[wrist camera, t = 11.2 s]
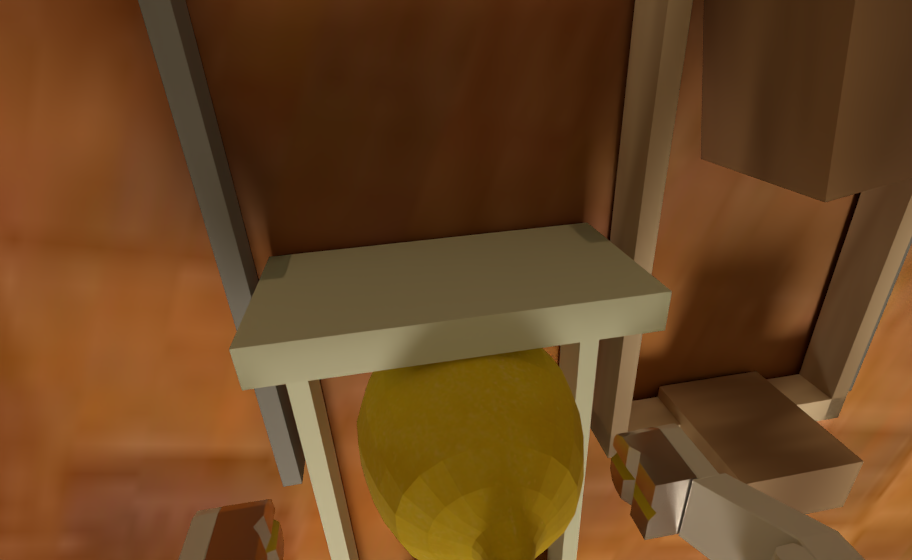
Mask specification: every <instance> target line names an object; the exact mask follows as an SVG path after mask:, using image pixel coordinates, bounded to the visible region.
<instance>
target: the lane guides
mask: <svg viewBox="0 0 912 560" xmlns="http://www.w3.org/2000/svg"><path fill="white" fill-rule="evenodd" d="M138 2H139V5H140V9H141V12H142V15H143V19H144V22H145V25H146V29H147V32H148V35H149V39H150V42H151V45H152V49H153V52H154V55H155V59H156V62H157V65H158V69H159V72H160V75H161V79H162V82H163V86H164V89H165V92H166V96H167V99H168V102H169V106H170V109H171V112H172V116H173V119H174V122H175V126H176V129H177V132H178V136H179V139H180V142H181V146H182V149H183V152H184V156H185V159H186V162H187V166H188V169H189V172H190V176H191V179H192V182H193V186H194V189H195V193H196V196H197V199H198V203H199V206H200V209H201V213H202V216H203V219H204V223H205V226H206V229H207V233H208V236H209V239H210V243H211V246H212V249H213V253H214V256H215V259H216V263H217V266H218V269H219V273H220V276H221V279H222V283H223V286H224V289H225V293H226V296H227V300H228V303H229V306H230V310H231V313H232V316H233V320H234V323H235V326H236V330H238V328H239V326H240V323H241V321H242V319H243V316H244V314H245V312H246V309H247V307H248V305H249V303H250V300H251V298H252V296H253V293H254V291H255V289H256V287H257V284H258V282H259V281H258V277H257V273H256V269H255V265H254V262H253V258H252V254H251V250H250V246H249V242H248V239H247V235H246V231H245V227H244V223H243V219H242V216H241V212H240V208H239V204H238V200H237V196H236V193H235V189H234V185H233V181H232V177H231V173H230V170H229V166H228V162H227V158H226V154H225V150H224V146H223V143H222V139H221V135H220V131H219V127H218V123H217V120H216V116H215V112H214V108H213V104H212V100H211V97H210V93H209V89H208V85H207V81H206V77H205V74H204V70H203V66H202V62H201V58H200V54H199V51H198V47H197V43H196V39H195V35H194V31H193V28H192V24H191V20H190V16H189V12H188V8H187V4H186V1H185V0H138ZM911 244H912V237H911V239H910V241H909V244H908V246H907V249H906V251H905V254H904V256H903V259H902V261H901V264H900V266H899V268H898V271H897V273H896V276H895V278H894V281H893V283H892V286H891V288H890V291H889V293H888V295H887V298H886V300H885V303H884V305H883V308H882V310H881V313H880V315H879V317H878V320H877V322H876V325H875V327H874V330H873V332H872V335H871V337H870V340H869V342H868V344H867V347H866V349H865V352H864V354H863V357H862V359H861V362H860V364H859V367H858V369H857V371H856V374H855V376H854V379H853V381H852V384H851V386H850V389H849V391H851V390H852V387H853V385H854V382H855V380H856V377H857V375H858V373H859V370H860V368H861V365H862V363H863V360H864V358H865V356H866V353H867V351H868V348H869V346H870V343H871V341H872V338H873V336H874V334H875V331H876V329H877V326H878V324H879V321H880V319H881V317H882V314H883V312H884V309H885V307H886V304H887V302H888V300H889V297H890V295H891V292H892V290H893V287H894V285H895V282H896V280H897V278H898V275H899V273H900V270H901V268H902V265H903V263H904V261H905V258H906V256H907V253H908V251H909V248H910V246H911ZM254 390H255V393H256V396H257V400H258V403H259V407H260V410H261V413H262V417H263V420H264V423H265V427H266V430H267V433H268V437H269V440H270V443H271V447H272V450H273V453H274V457H275V460H276V463H277V467H278V470H279V473H280V477H281V480H282V483H283V487H284V486H290V485H296V484H302V480H303V473H304V466H305V457H304V454H303V450H302V446H301V442H300V438H299V434H298V431H297V427H296V423H295V419H294V415H293V411H292V407H291V404H290V400H289V396H288V392H287V388H286V384H283V385H276V386H269V387H262V388H255V389H254Z"/></svg>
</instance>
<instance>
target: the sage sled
mask: <svg viewBox="0 0 912 560" xmlns="http://www.w3.org/2000/svg"><path fill="white" fill-rule="evenodd" d="M671 293H672V291H671V290H669V289H668V288H667V287H666V286H664V285H663V284H662V283H661V282H660V281H658V280H657V279H656V278H655V277H653V276H652V275H651V274H650V273H648V272H647V271H646V270H645V269H644V268H642V267H641V266H640V265H639V264H637V263H636V262H635V261H634V260H632V259H631V258H630V257H629V256H628V255H626V254H625V253H624V252H623V251H621V250H620V249H619V248H618V247H616V246H615V245H614V244H613V243H612V242H610V241H609V240H608V239H607V238H605V237H604V236H603V235H602V234H600V233H599V232H598V231H597V230H596V229H594V228H593V227H592V226H591V225H589V224H588V223H578V224H569V225H560V226H550V227H541V228H532V229H523V230H513V231H504V232H495V233H485V234H476V235H467V236H458V237H448V238H439V239H430V240H421V241H411V242H402V243H393V244H383V245H374V246H365V247H356V248H346V249H337V250H328V251H319V252H309V253H300V254H291V255H281V256H272V257H269V259H268V261H267V264H266V266H265V268H264V270H263V273H262V275H261V277H260V280H259V282H258V284H257V287H256V289H255V291H254V293H253V296H252V298H251V300H250V303H249V305H248V307H247V309H246V312H245V314H244V316H243V319H242V321H241V323H240V326H239V328H238V330H237V332H236V335H235V337H234V339H233V342H232V344H231V346H230V349H229V350H230V354H231V357H232V360H233V363H234V366H235V370H236V373H237V376H238V379H239V382H240V385H241V389H242V390H247V389H255V388H262V387H269V386H276V385H283V384H286V387H287V390H288V394H289V398H290V402H291V406H292V410H293V413H294V417H295V421H296V425H297V429H298V433H299V437H300V440H301V444H302V448H303V452H304V456H305V460H306V463H307V467H308V471H309V475H310V479H311V483H312V487H313V490H314V494H315V498H316V502H317V506H318V510H319V513H320V517H321V521H322V525H323V529H324V533H325V537H326V540H327V544H328V548H329V552H330V556H331V560H359V558H358V554H357V549H356V544H355V540H354V535H353V531H352V526H351V522H350V517H349V512H348V508H347V503H346V499H345V494H344V490H343V485H342V481H341V476H340V471H339V467H338V462H337V458H336V453H335V449H334V444H333V440H332V435H331V430H330V426H329V421H328V417H327V412H326V408H325V403H324V398H323V394H322V389H321V385H320V380H319V379H325V378H332V377H339V376H346V375H353V374H360V373H367V372H374V371H381V370H388V369H396V368H403V367H410V366H417V365H424V364H431V363H438V362H445V361H452V360H459V359H466V358H473V357H480V356H487V355H494V354H501V353H508V352H515V351H522V350H530V349H537V348H544V347H551V346H558V345H560V361H559V367H560V368H561V370H562V371H563V374H564V376H565V378H566V380H567V383H568V385H569V387H570V389H571V391H572V394H573V397H574V399H575V402H576V405H577V408H578V410H579V413H580V418H581V424H582V430H583V436H584V478H583V483H582V488H581V493H580V497H579V501H578V505H577V509H576V512H575V515H574V517H573V519H572V520H571V522H570V524H569V525H568V527H567V529H566V530H565V532H564V533H563V534H562V535H561V536H560V537H559V538H558V539H557V540H556V541H555V542H553V543H552V544H551V545H550V546H549V547H548V556H547V560H576V557H577V547H578V538H579V528H580V519H581V509H582V500H583V490H584V480H585V471H586V461H587V452H588V442H589V433H590V423H591V414H592V404H593V394H594V385H595V375H596V366H597V356H598V347H599V340H600V339H607V338H614V337H621V336H628V335H635V334H642V333H649V332H656V331H663V330H665V327H666V322H667V316H668V310H669V305H670V299H671Z"/></svg>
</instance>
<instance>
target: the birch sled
mask: <svg viewBox="0 0 912 560" xmlns="http://www.w3.org/2000/svg"><path fill="white" fill-rule="evenodd" d="M692 4H693V0H635V7H634V16H633V26H632V35H631V45H630V54H629V64H628V74H627V83H626V93H625V102H624V112H623V121H622V131H621V140H620V150H619V159H618V169H617V178H616V188H615V197H614V207H613V216H612V226H611V235H610V242H612V243H613V244H614V245H615V246H616V247H618V248H619V249H620V250H621V251H623V252H624V253H625V254H626V255H628V256H629V257H630V258H631V259H632V260H634V261H635V262H636V263H637V264H639V265H640V266H641V267H642V268H644V269H645V270H646V271H647V272H648V273H650V274H652V267H653V261H654V254H655V248H656V241H657V235H658V228H659V221H660V215H661V208H662V202H663V195H664V189H665V182H666V175H667V169H668V162H669V156H670V149H671V142H672V136H673V129H674V123H675V116H676V110H677V103H678V96H679V90H680V83H681V77H682V70H683V64H684V57H685V50H686V44H687V37H688V31H689V24H690V18H691V11H692ZM911 237H912V178H909V179H905V180H902V181H898V182H895V183H891V184H888V185H884V186H881V187H877V188H874V189H870V190H867V191H863V192H861V195H860V198H859V201H858V204H857V207H856V209H855V212H854V215H853V218H852V221H851V224H850V227H849V230H848V233H847V236H846V239H845V242H844V245H843V247H842V250H841V253H840V256H839V259H838V262H837V265H836V268H835V271H834V274H833V277H832V280H831V283H830V285H829V288H828V291H827V294H826V297H825V300H824V303H823V306H822V309H821V312H820V315H819V318H818V321H817V323H816V326H815V329H814V332H813V335H812V338H811V341H810V344H809V347H808V350H807V353H806V356H805V359H804V361H803V364H802V367H801V370H800V373H799V374H797V375H791V376H785V377H779V378H772V379H765V378H764V377H763V376H761V375H760V374H759V373H758V372H757V371H754V372H748V373H742V374H735V375H729V376H723V377H716V378H710V379H704V380H697V381H691V382H685V383H678V384H672V385H666V386H660V387H659V392H658V397H654V398H648V399H642V400H636V401H632V399H633V392H634V386H635V379H636V373H637V366H638V359H639V353H640V346H641V340H642V334H635V335H628V336H621V337H614V338H607V339H600V340H599V350H598V359H597V369H596V378H595V388H594V397H593V407H592V416H591V426H590V428H591V430H592V431H593V433H594V435H595V437H596V438H597V440H598V442H599V443H600V445H601V447H602V449H603V450H604V452H605V454H606V455H607V457H608V458H610V457H613V456H614V455H615V454H616V453H617V452H616V450H615V448H614V447H613V441H614V437H615V436H616V434H620V433H625V432H630V431H635V430H640V429H645V428H650V427H656V426H662V425H667V424H672V423H675V424H676V425H678V426H679V427H680V428H681V429H682V430H683V431H684V433H685V434H686V435H687V436H688V437H689V438H690V440H691V441H692V442H693V443H694V444H695V446H696V447H697V448H698V449H699V450H700V452H701V453H702V454H703V455H704V456H705V457H706V459H707V460H708V461H709V462H710V463H711V465H712V466H713V467H714V468H715V469H716V471H717V472H718V473H719V474H723V473H726V474H728V475H730V476H732V477H734V478H736V479H737V480H739V481H741V482H743V483H745V484H747V485H749V486H751V487H753V488H755V489H757V490H759V491H761V492H762V493H764V494H766V495H768V496H770V497H772V498H774V499H776V500H778V501H780V502H782V503H784V504H786V505H788V506H789V507H791V508H793V509H795V510H797V511H799V512H801V513H803V514H809V513H814V512H819V511H823V510H828V509H833V508H838V507H843V505H844V503H845V501H846V499H847V496H848V494H849V492H850V490H851V488H852V486H853V484H854V481H855V479H856V477H857V475H858V473H859V471H860V468H861V466H862V464H863V462H864V461H863V460H861V459H860V458H859V457H858V456H857V455H855V454H854V453H853V452H852V451H851V450H849V449H848V448H847V447H846V446H845V445H843V444H842V443H841V442H840V441H839V440H838V439H836V438H835V437H834V436H833V435H832V434H830V433H829V432H828V431H827V430H826V429H824V428H823V427H822V426H821V425H820V424H818V423H817V422H816V421H820V420H826V419H832V418H837V417H838V416H839V413H840V411H841V408H842V406H843V403H844V401H845V398H846V396H847V393H848V391H849V389H850V386H851V384H852V381H853V379H854V376H855V374H856V371H857V369H858V367H859V364H860V362H861V359H862V357H863V354H864V352H865V349H866V347H867V344H868V342H869V340H870V337H871V335H872V332H873V330H874V327H875V325H876V322H877V320H878V317H879V315H880V313H881V310H882V308H883V305H884V303H885V300H886V298H887V295H888V293H889V291H890V288H891V286H892V283H893V281H894V278H895V276H896V273H897V271H898V268H899V266H900V264H901V261H902V259H903V256H904V254H905V251H906V249H907V246H908V244H909V241H910V239H911Z"/></svg>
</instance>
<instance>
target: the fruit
mask: <svg viewBox="0 0 912 560" xmlns="http://www.w3.org/2000/svg"><path fill="white" fill-rule="evenodd" d="M357 430H358V445H359V452H360V459H361V465H362V469H363V472H364V476H365V479H366V482H367V485H368V488H369V491H370V494H371V496H372V499H373V502H374V504H375V506H376V508H377V509H378V511H379V513H380V515H381V517H382V519H383V521H384V522H385V524H386V525H387V526H388V528H389V529H390V530H391V531H392V533H393V534H394V535H395V536H396V538H397V539H398V540H399V542H400V543H401V544H402V545H403V546H404V547H405V549H406V550H407V551H408V552H409V553H410V554H411V555H412V557H414V558H416V559H418V560H535V558H536V557H538V556H539V555H540V554H541V553H542V552H543V551H545V550H546V549H547V548H548V547H549V546H550V545H551V544H552V543H553V542H555V541H556V540H557V539H558V538H559V537H560V536H561V535H562V534H563V533H564V532H565V530H566V529H567V527H568V525H569V524H570V522H571V520H572V519H573V517H574V515H575V512H576V509H577V505H578V501H579V497H580V493H581V488H582V483H583V478H584V436H583V430H582V424H581V418H580V413H579V410H578V408H577V405H576V402H575V399H574V397H573V394H572V391H571V389H570V387H569V385H568V383H567V380H566V378H565V376H564V374H563V371H562V370H561V368H560V367H559V366H558V365H557V363H556V362H555V361H554V360H553V358H552V357H551V356H550V355H549V354H548V353H547V352H546V351H545V350H544V349H543V348H537V349H530V350H522V351H515V352H508V353H501V354H494V355H487V356H480V357H473V358H466V359H459V360H452V361H445V362H438V363H431V364H424V365H417V366H410V367H403V368H396V369H388V370H381V371H374V372H373V373H372V375H371V377H370V379H369V381H368V385H367V388H366V391H365V394H364V398H363V401H362V404H361V408H360V412H359V416H358V420H357Z"/></svg>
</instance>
